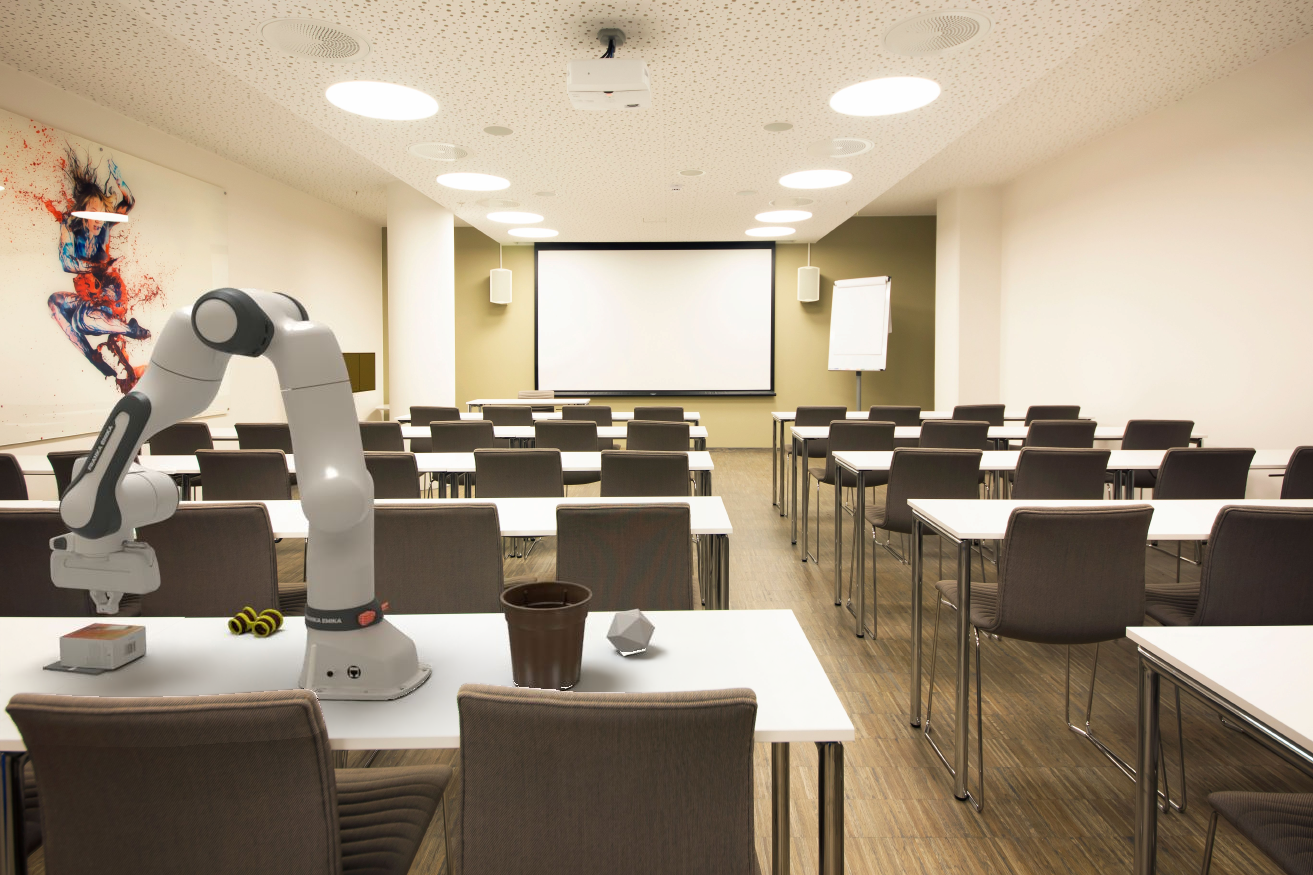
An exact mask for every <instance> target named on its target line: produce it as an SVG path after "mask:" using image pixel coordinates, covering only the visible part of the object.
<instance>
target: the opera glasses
mask: <svg viewBox="0 0 1313 875" xmlns="http://www.w3.org/2000/svg"><path fill="white" fill-rule="evenodd" d="M283 624H284V616H283V615H282V614H281V613H280V612H279V611H278V610H276V609H270V608H269V609H266V610H263V611H262V612H260V614H259V615H257V613H256V612H255V610H253V608H251V607H249V606H245V607H244V608H243V609H242V611H241V612H239V613H237V614H236V615H235V616H233V618H231V619H229V620H228V622H227V628H228V630H229V631H230V632H231V633H232V634H235V635H240V634H241V633H243V632H247V631H248V632H249V630H251V632H252V633H253V635H254V636H255V637H258V638H265V637H267V636H268V635H269V634H271V633H273V632H274V631H277V630H279V629H280V628H281V627H282V626H283Z"/></svg>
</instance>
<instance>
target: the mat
mask: <svg viewBox="0 0 1313 875" xmlns="http://www.w3.org/2000/svg"><path fill="white" fill-rule="evenodd" d="M144 655H146V654H144ZM144 655H143V656H144ZM138 658H139V657H137V658H136V659H138ZM42 670H45V671H46V670H48V671H55V672H56V671H57V672H63V673H75V674H83V675H92V676H98V675H100V674H103V673H105V672H108V671H110V670H111V669H98V668H82V667H65V666H61V661H60V660H57V661H55V662H53V663H50V664H47V665H45V666H43V667H42Z"/></svg>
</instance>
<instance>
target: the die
mask: <svg viewBox="0 0 1313 875" xmlns="http://www.w3.org/2000/svg"><path fill="white" fill-rule="evenodd" d="M611 621H612V622H611V624H610V626H609V629H608V631H607V634H606V639H607V640H608V641H609V642H610V643H611V644H612V645H613V647H614V648H615V649H616V650H617V651H618V650H619V651H621V652H633V651H637V650H642V649H645V648H646V647H647V648H648V646H649V644H650V641H651V639H652V636H653V634H654V631H655V629H656V627H655V626H654V624H653V623H652V622H651V621H650V620H649V618H647V616H645V614H644V613H643V612H642V611H641V610H640V609H639V608H635V609H630V610H626V611H625V610H624V611H619V612H615V614H614V616H613V619H612V620H611ZM619 651H618V652H619Z"/></svg>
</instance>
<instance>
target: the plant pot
mask: <svg viewBox="0 0 1313 875" xmlns="http://www.w3.org/2000/svg"><path fill="white" fill-rule="evenodd" d="M592 598H593V592H592V591H591V589H590V588H588V587H586V586H585V585H583V584H579V583H574V582H569V581H560V580H545V581H535V582H534V581H532V582H526V583H521V584H517V585H515V586H512V587H509V588H508V589H506V590H504V591H503V592H502V593H501V594H500V602H501V603H502V605H503V612H504V619H505V621H506V623H507V624H506V625H507V633H508V640H509V641H508V642H509V647H510V648H509V650H510V661H511V670H512V671H511V672H512V681H513V680H514V681H513V683H514V682H515V683H516V684H518V685H515V686H516V687H517V686H519V687H529V688H541V689H556V690H563V691H565V690H567V689H565V688H561V687H569V686H571V685H574V684H575V685H576V683H577V682H579V681H580V680H581V677H580V676H582V661H583V651H584V641H585V640H584V638H585V629H586V628H585V627H586V621H587V620H586V619H587V618H588V615H589V607H590V601H591V600H592ZM579 679H580V680H579ZM578 680H579V681H578ZM575 685H574V686H575Z"/></svg>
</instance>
